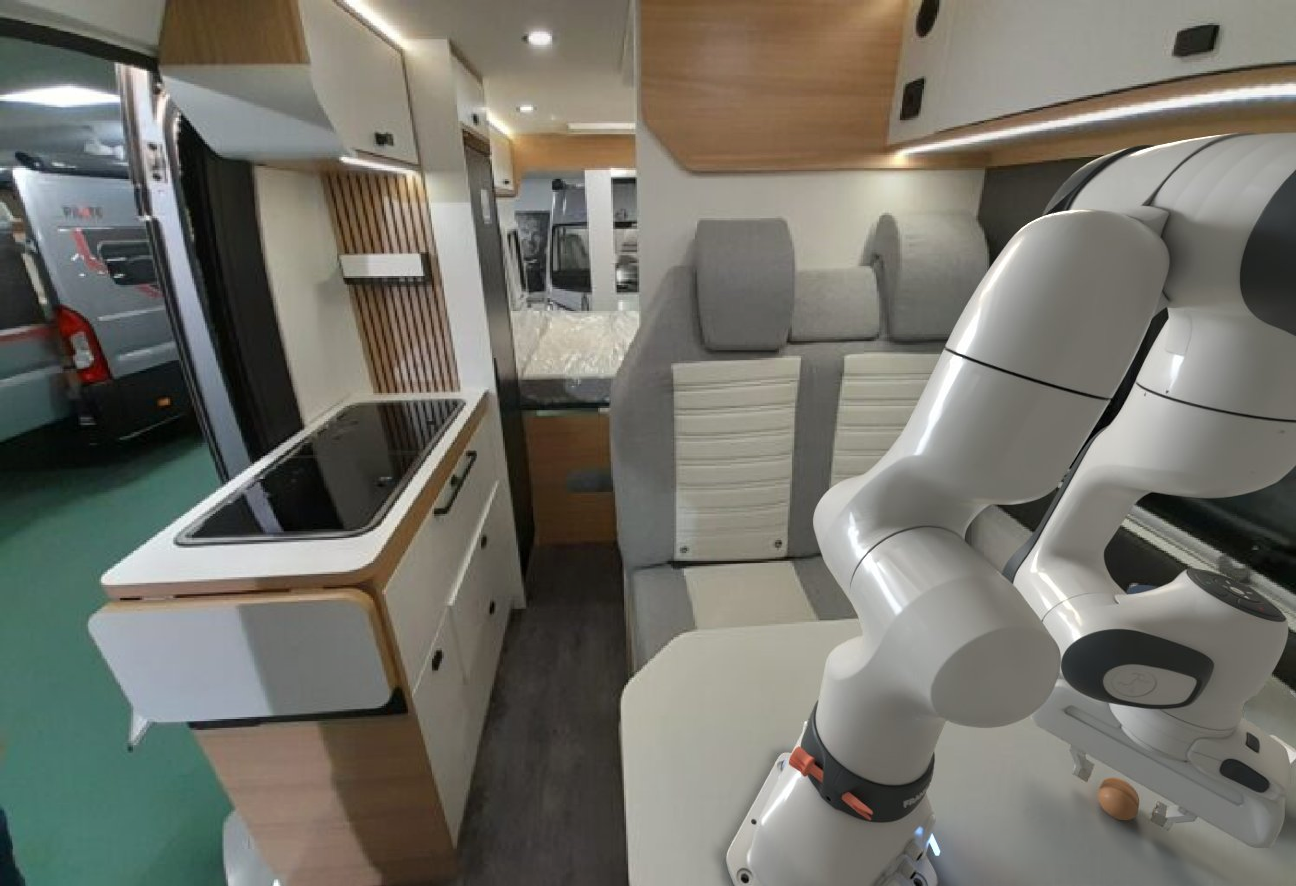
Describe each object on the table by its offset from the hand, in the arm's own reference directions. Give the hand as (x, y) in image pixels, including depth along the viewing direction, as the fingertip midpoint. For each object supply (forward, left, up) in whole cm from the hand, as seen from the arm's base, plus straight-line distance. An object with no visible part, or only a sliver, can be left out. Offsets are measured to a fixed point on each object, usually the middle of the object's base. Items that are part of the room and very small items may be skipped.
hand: (1118, 797), depth 61 cm
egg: (0, 0, -2) cm, 2 cm away
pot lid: (+34, +1, +7) cm, 35 cm away
